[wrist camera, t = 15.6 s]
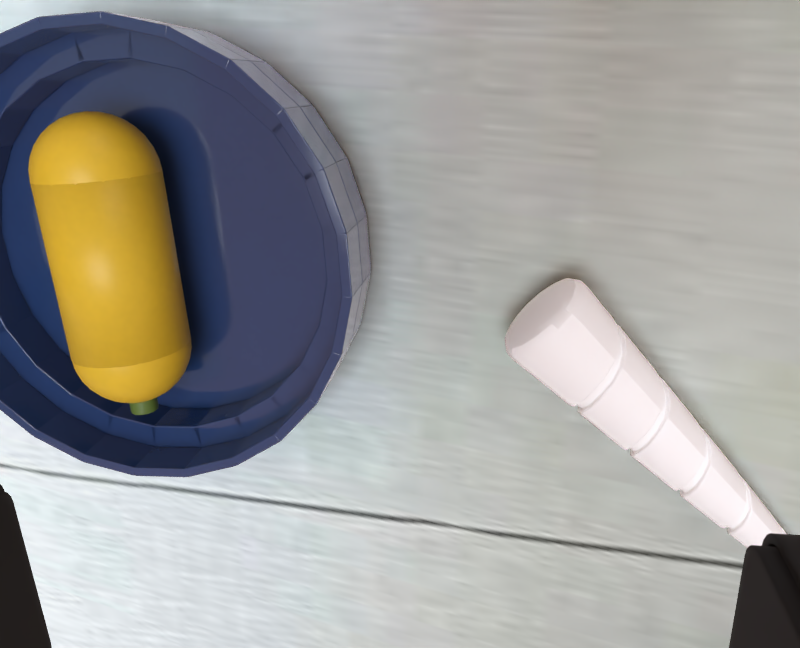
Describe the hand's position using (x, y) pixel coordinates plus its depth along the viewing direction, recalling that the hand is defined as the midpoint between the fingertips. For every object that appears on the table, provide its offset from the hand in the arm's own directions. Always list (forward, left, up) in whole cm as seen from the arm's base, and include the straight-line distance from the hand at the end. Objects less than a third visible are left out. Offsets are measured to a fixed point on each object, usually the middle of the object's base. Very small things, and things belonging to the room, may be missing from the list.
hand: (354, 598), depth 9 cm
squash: (+1, -16, -26) cm, 31 cm away
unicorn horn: (+12, +11, -27) cm, 32 cm away
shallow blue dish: (+1, -16, -27) cm, 31 cm away
